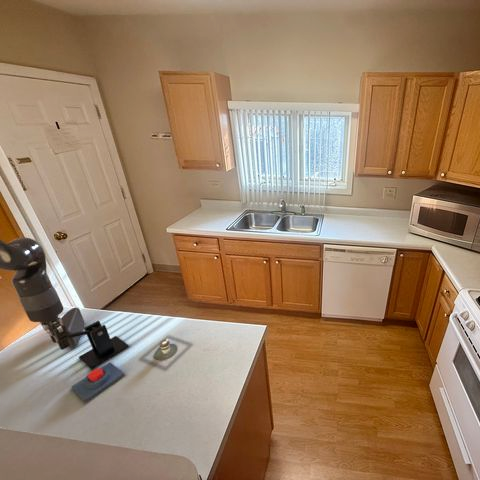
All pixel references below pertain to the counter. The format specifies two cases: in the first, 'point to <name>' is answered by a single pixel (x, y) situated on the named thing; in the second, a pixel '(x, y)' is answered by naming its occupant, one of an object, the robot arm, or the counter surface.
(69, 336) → the lever
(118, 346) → the bracket
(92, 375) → the button
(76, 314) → the leaning round-cornered charcoal block
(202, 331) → the counter surface
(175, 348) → the brass knob on disc
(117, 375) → the button box
